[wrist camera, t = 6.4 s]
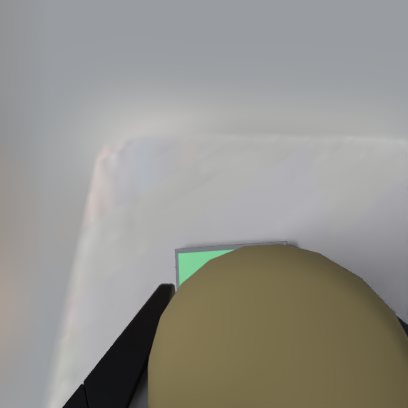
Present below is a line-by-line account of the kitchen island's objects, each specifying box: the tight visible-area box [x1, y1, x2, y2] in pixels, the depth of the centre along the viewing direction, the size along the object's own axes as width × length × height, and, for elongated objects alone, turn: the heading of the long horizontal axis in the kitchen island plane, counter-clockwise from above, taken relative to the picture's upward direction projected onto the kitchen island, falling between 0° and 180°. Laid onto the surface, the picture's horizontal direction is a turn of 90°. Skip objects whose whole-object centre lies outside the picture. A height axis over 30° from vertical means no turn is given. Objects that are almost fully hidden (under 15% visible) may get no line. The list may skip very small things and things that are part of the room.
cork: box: [148, 244, 408, 408], centre depth 9 cm, size 6×6×11 cm
